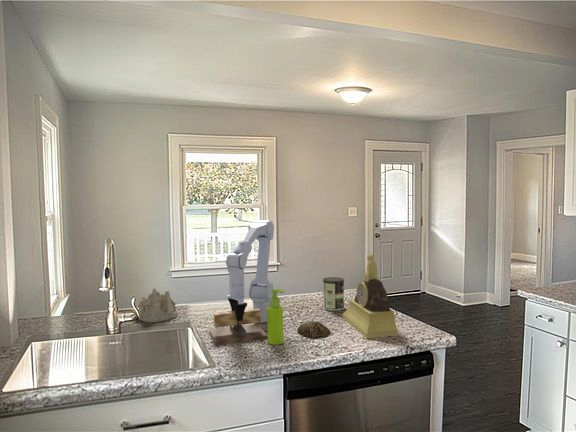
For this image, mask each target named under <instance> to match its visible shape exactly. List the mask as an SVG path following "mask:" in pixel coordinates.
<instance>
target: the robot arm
mask: <svg viewBox="0 0 576 432" xmlns="http://www.w3.org/2000/svg"><path fill="white" fill-rule="evenodd" d="M247 229H248V232H247V234H246V236H245V238H244V239H243V240H240V241H239V242H238V245H237V246H236V247H235V249H234V250H233V252H232V253H229V254H228V255H227V256H226V261H225V265H226V268H227V271H228V276H229V278H228V279H229V294H227V295H226V298H227V300H228V302H229V304H230V309H231V310H230V311H235V314H236V319H237V321H242V320H243V316H244V311H245V310H246V308H247V307H248V303H247V302H245V300H244V299H245V297H246V294H245V268H246V266H247V264H248V263H247V261H248V257H249V255H250V253H251V252H252V250H253V244H254V242H255V241H257V242H258V249H257V261H256V262H257V263H256V271H255V272H256V274H255V278H254V279H252V280H250V283H249V288H248V297H249V298H250V299H251V302H252V309H257V308H258V309H260V323H259V324H261V323H267V307H269V306H271V305H270V298H272V297H273V292H272V291H270V290H272V289H274V283H273V282H272V281H271V280H270V279H269V278H268V271H269V262H270V261H269V260H270V252H271V251H270V249H271V248H270V247H271V241H272V240H273V239H274V235H275V226H274V223H273V221H272V220H269V219H268V220H262V219H260V220H258V219H256V220H255V219H252V220H250V221H249V223H248V227H247Z"/></svg>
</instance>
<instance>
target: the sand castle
mask: <svg viewBox="0 0 576 432" xmlns="http://www.w3.org/2000/svg"><path fill="white" fill-rule="evenodd" d="M176 305H177V303H175V302H174V301H173V300H172V298H171V294H170V290H165V291H164V293H160V291H158V290H157V289H156V288H155V287H152V293H149V294H148V296H147V298H146V296H142V299H141V300H140V302H139V304H138V305H137V308H138V311H139V313H138V315H139V317H140V318H138V320H139V321H141V322H142V321H143V322H146V323H157V322H158V323H159V322H162V321H164V322H165V321H168V320H172V319H176V318H178V317H177V316H179V315H178V311H177V307H176Z"/></svg>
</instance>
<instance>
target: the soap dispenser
mask: <svg viewBox="0 0 576 432" xmlns="http://www.w3.org/2000/svg"><path fill="white" fill-rule="evenodd" d="M270 291H272V292H273V297H272V298H270V305H271V306H269V307H267V322H266V323H267V335H268V338H267V344H270V345H274V346H276V345H282V344H283V343H284V307H283V306H281V305H280V303H281V302H280V297H279V296H278V293H280V294H283V293H285V292H286V291H285V290H284V289H279V288H273V289H272V290H270Z"/></svg>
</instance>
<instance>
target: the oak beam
mask: <svg viewBox="0 0 576 432" xmlns="http://www.w3.org/2000/svg"><path fill="white" fill-rule="evenodd" d="M254 324H261V323H260V309H258V308H257V309H253V308H250V309H245V311H244V316H243V320H242V321H237V319H236V314H235V311H232V310H229V311H219V312H213V327H214V329H219V328H227V327H230V326H235V325H242V326H245V325H254Z"/></svg>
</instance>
